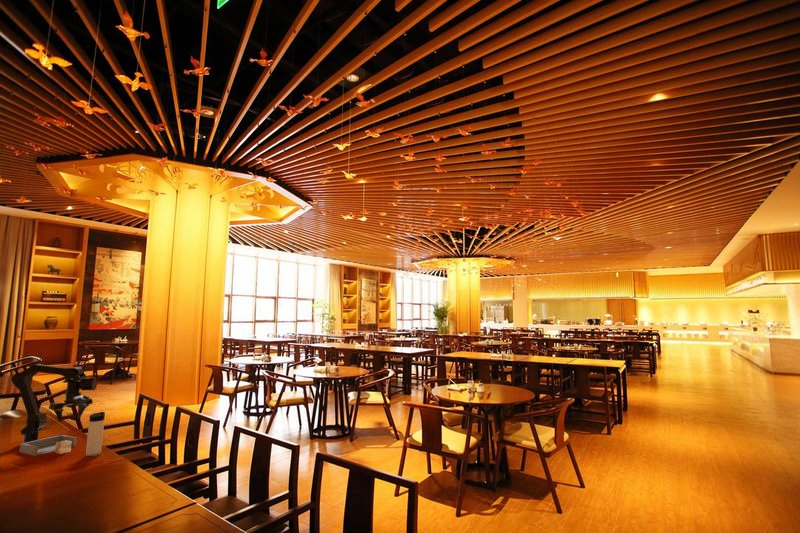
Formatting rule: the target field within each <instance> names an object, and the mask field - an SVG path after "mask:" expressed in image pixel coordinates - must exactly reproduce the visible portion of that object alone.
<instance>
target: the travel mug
mask: <svg viewBox="0 0 800 533" xmlns="http://www.w3.org/2000/svg"><path fill="white" fill-rule="evenodd" d="M105 415H106V412H105V411H100V412H95V413H92V414H89V421H88V429H87V439H86V448H85V457H87V456H93V457H97V455H98V456H100V455H101V454H102V445H103V440H104V439H103V437H104V429H105V428H104V427H105Z"/></svg>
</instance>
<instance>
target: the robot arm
mask: <svg viewBox="0 0 800 533" xmlns="http://www.w3.org/2000/svg"><path fill="white" fill-rule="evenodd" d="M38 373H42V374H43V373H44V374H51V375H57V376H58V375H59V376H61V377H64V378H66V379H65V380H63V381H62V383H64V384H65V383H67V385H66V391H65V393H64V396H65V399H64V400H63V402H59V401H58V402H51V403H50V404H49V405H48V409H49V410H51V411H53V412H54V413H55V415H56V418H57V419H58V422H59V423H61V422H62V420H63V412H64V408H65V407H70V406H73V407H77V418H78V419H81V417H82V415H83V413H84V411H85V410H86V408H88V407H89V406H90V405H92V404H93V403H94V402H93V399H92V398H91V397H90V396H89V394H85V395H82V392H81V391H95V390H96V389H97V387H98V382H97V380H96V377H88V376H87V375H86V373H85V372H84V369H83V367H81V366H70V367H67V366H66V367H63V366H55V365H49V364H42V363H35V364H33V365H31V366H30V367H28V368H26V369H24V370H22V371H21V372H16V373H14V374H13V375H12V376H11V379H10V380H11V383H12V384H13V386H14V387H15V389H16V388H17V390H18V391H19V393H20V397H21V399H22V402H23V406H24V408H25V410H26V414H27V417H26V422H25V423H26V426H24V427H23V429H21V430H20V434H21V435H23V442H22V443H26V442H31V441H35V440H39V439H38V438H39V432H40V431H42V430H43V429H44V427H45V426H46V425H47V423H48V417H47V414H46V412H41V411H40V409H39V406H38V404H37V400H36V397H35V395H34V392H33V389H32V383H33V377H34V376H36V375H37V374H38ZM80 390H81V391H80Z"/></svg>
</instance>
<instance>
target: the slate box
mask: <svg viewBox="0 0 800 533" xmlns="http://www.w3.org/2000/svg"><path fill="white" fill-rule="evenodd" d="M65 440H68V441H72V444H71V448H72V447H76V446H77V437H75V436H70V435H67V434H60V435H53V436H50V437H49V436H48V437H44V438H41V439H40V438H39V439H38V440H35V441H31V442H26V443H23V442H22V443H20V444H19V453H21V454H25V455H29V456H33V457H36V456H39V455H44V454H47V453H52V452H55V450H56V443H57V442H61V441H65Z"/></svg>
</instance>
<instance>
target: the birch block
mask: <svg viewBox="0 0 800 533" xmlns="http://www.w3.org/2000/svg"><path fill="white" fill-rule="evenodd" d="M71 444H72V441H68V440H65V441H61V442H57V443H56V450H55V451H54V452H55V454H58V455H62V454H66V453H67V454H68V453H70V452H71V451H72V447H71Z"/></svg>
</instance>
